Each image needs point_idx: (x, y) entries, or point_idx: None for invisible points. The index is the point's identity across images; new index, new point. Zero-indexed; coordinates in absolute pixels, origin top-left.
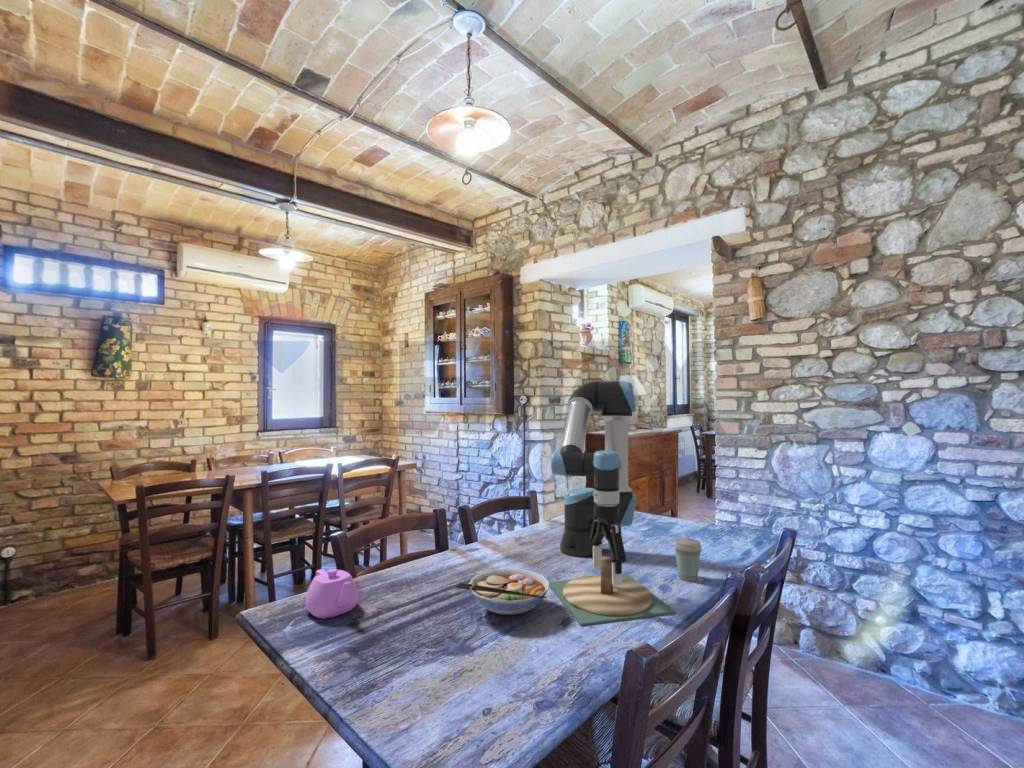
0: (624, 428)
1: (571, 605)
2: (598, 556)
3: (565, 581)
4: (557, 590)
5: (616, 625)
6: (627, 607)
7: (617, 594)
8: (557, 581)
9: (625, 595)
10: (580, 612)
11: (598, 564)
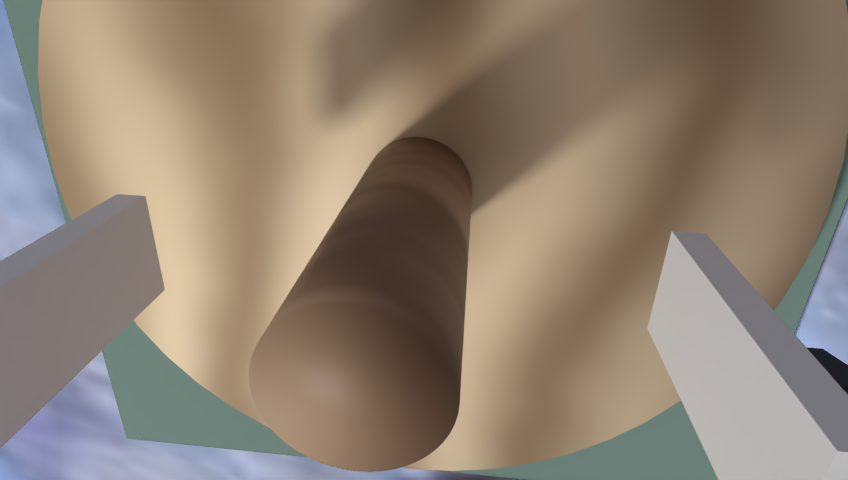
0: None
1: None
2: (61, 308)
3: (122, 342)
4: (262, 436)
5: (844, 321)
6: (757, 172)
7: (488, 122)
8: (120, 385)
9: (535, 58)
10: (600, 447)
11: (132, 252)
